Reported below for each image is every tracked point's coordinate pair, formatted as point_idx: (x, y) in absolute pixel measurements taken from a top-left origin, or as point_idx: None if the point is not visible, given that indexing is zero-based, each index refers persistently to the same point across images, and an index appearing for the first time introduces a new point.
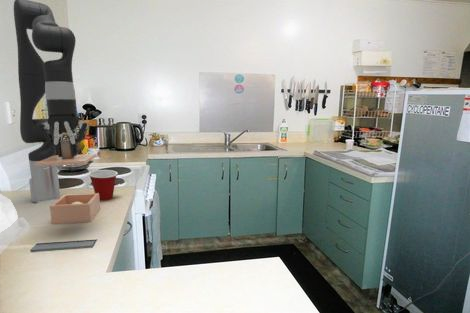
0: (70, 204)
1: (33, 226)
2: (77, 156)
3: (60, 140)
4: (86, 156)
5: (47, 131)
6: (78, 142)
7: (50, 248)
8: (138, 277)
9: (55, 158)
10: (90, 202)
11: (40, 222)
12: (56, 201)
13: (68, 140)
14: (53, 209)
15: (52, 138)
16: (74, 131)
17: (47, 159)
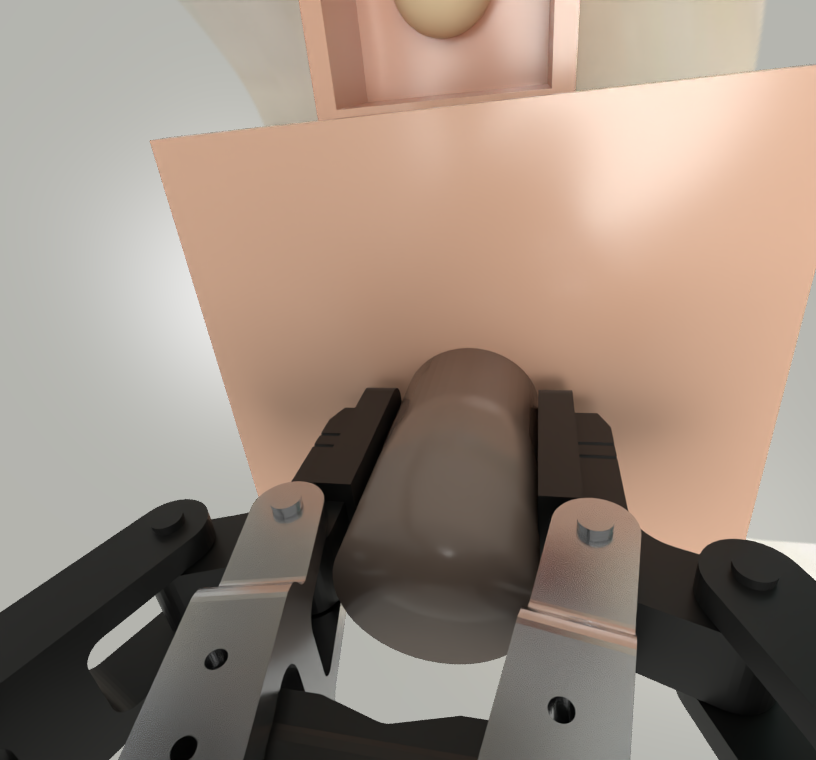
0: (438, 105)
1: (261, 111)
2: (553, 301)
3: (344, 595)
4: (696, 332)
5: (52, 754)
6: (656, 558)
7: None
8: (804, 558)
9: (320, 381)
10: (572, 64)
11: (261, 50)
12: (306, 20)
13: (502, 650)
14: None
15: (186, 589)
16: (610, 749)
17: (270, 424)
